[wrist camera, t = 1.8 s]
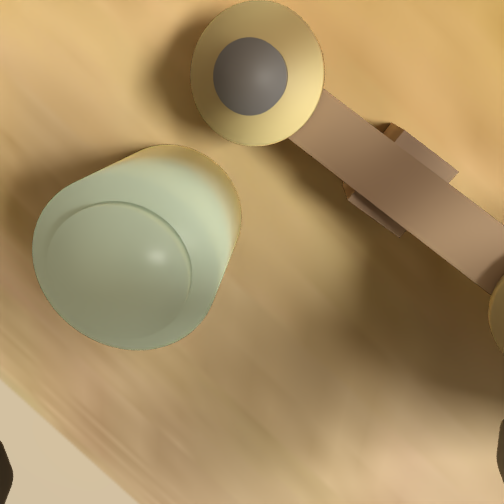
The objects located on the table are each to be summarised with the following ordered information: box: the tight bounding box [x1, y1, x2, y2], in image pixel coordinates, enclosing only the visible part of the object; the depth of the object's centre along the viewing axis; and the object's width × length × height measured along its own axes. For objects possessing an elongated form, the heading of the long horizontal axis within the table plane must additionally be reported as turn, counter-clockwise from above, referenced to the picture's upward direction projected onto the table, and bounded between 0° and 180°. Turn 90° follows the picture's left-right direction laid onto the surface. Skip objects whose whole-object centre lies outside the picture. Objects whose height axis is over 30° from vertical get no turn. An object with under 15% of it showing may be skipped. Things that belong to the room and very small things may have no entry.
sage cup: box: [32, 145, 242, 350], centre depth 17 cm, size 6×6×7 cm
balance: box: [190, 0, 504, 355], centre depth 16 cm, size 17×5×6 cm, turn 55°
